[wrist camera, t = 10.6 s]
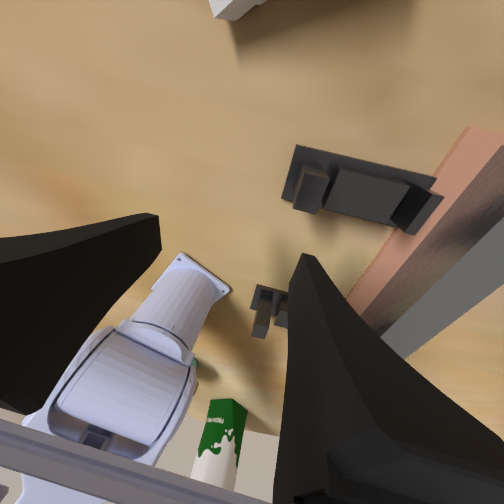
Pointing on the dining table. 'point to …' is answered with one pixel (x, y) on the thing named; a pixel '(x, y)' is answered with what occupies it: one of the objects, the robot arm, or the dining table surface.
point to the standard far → (268, 309)
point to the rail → (446, 267)
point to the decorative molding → (232, 8)
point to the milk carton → (220, 444)
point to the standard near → (360, 189)
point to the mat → (448, 185)
